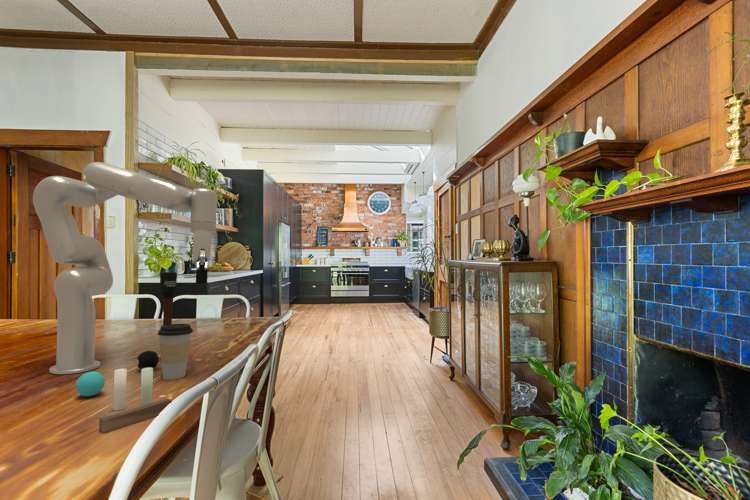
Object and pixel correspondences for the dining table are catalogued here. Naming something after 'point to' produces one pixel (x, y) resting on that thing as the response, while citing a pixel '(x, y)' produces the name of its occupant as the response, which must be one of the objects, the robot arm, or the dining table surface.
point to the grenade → (168, 294)
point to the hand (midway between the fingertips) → (201, 282)
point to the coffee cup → (174, 349)
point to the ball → (90, 384)
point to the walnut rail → (132, 415)
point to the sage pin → (146, 385)
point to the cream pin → (120, 389)
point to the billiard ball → (147, 360)
